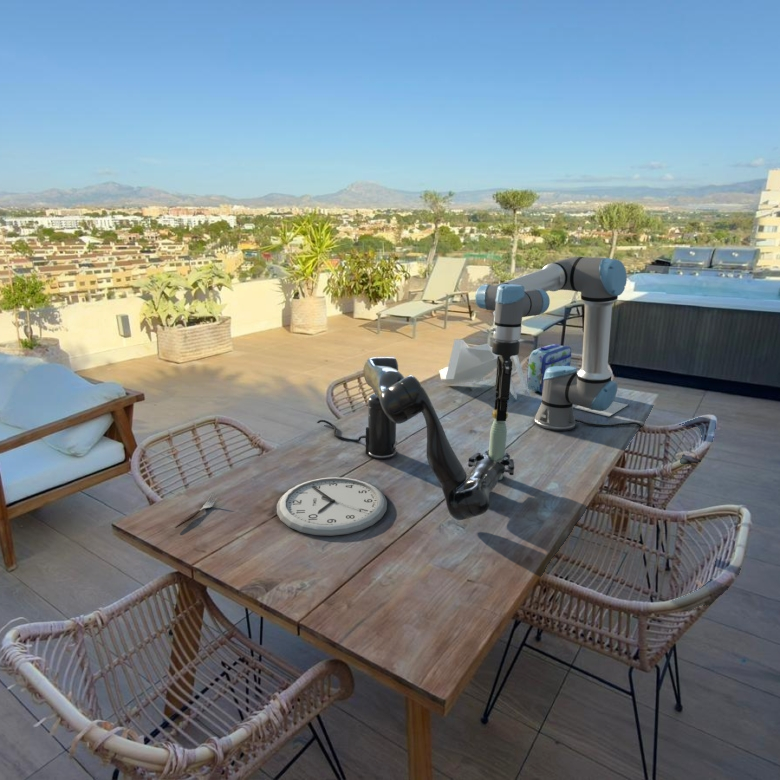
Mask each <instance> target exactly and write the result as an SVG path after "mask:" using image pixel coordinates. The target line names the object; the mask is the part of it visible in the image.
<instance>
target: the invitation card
mask: <svg viewBox="0 0 780 780" xmlns="http://www.w3.org/2000/svg"><path fill="white" fill-rule="evenodd" d="M628 406H629V404H627V403H623V402H618V401H614V400H613V402H612V404H611V405H610V406H609V407H608V408H607V409H606V410H604V411H598V410H591V409H589V408H586V407H582V406H579V405H575V406H574V407H573V409H575V410H581V411H584V412H587V413H593V414H596V415H600V416H604V417H608V418H609V417H611V416H613V415H614V414H616V413H617V412H619V411H621V410H623V409H624V408H626V407H628Z"/></svg>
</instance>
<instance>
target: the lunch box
mask: <svg viewBox="0 0 780 780" xmlns="http://www.w3.org/2000/svg"><path fill="white" fill-rule="evenodd" d="M571 361H572V348H571V347H570V346H567V345H566V346H565V345H561V344H556V343H555V344H554V343H553V344H548V345H545V346H541V347H539V348H536V349H534V350H532V351H531V353H530V355H529V357H528V363H527V375H526V384H527V387H528V390H529V391H532V392H533V391H534V392H539V393H540V394H542V391H543V381H544V380H543V378H544V374H545V371H546V369H547V368H550V367H554V366H571Z"/></svg>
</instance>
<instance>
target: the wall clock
mask: <svg viewBox="0 0 780 780" xmlns="http://www.w3.org/2000/svg"><path fill="white" fill-rule="evenodd" d="M387 509H388V500H387V498H386V496H385V494H384V493H383V492H382V491H381V490H380V489H379V488H377V487H376V486H374V485H372V484H371V483H369V482H365V481H362V480H359V479H355V478H349V477H338V476H337V477H335V476H333V477H332V476H331V477H322V478H317V479H312V480H307V481H305V482H302V483H299V484H297V485H295V486H293V487H292V488H290V489H288V490H287V491H286V492H285V493H284V494H283V495H281V496H280V498H279V499H278V502H277V503H276V515H277V517H278V518H279V520H280V521H281V522H282V523H283V524H285V525H286V526H287V527H288V528H290V529H293V530H295V531H297V532H299V533H303V534H308V535H312V536H327V537H328V536H329V537H331V536H332V537H333V536H342V535H350V534H352V533H356V532H361V531H363V530H366V529H368V528H369V527H372V526H373V525H375V524H376V523H378V522H379V521H380V520H381V519H382V518H383V517H384V516H385V514H386V512H387Z"/></svg>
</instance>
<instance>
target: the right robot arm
mask: <svg viewBox="0 0 780 780" xmlns="http://www.w3.org/2000/svg"><path fill="white" fill-rule="evenodd" d="M627 279H628V277H627V270H626V266H625V265H624V264H623V262H622V261H621V260H620V259H616V258H610V257H596V256H595V257H592V256H571V257H567V258H563V259H560V260H557V261H553V262H551V263H548V264H545V266H543V267H542V269H539V270H536V271H533V272H530V273H528V274H524V275H521V276H518V277H516V278H512V279H510V280H507V281H504V282H501V283H498V284H493V285H492V284H482V285H480V286H479V287H478V288H477V289H476V291H475V296H474V297H475V300H474V301H475V304H476V306H477V307H478V308H480V309H483V310H486V311H492V312H494V311H495V318H494V321H493V327H492V328H491V332H493V340H492V347H491V348H492V352H493V353H494V354H496V355H500V356H498V357H497V368H496V374H495V375H496V376H495V384H494V387H495V395H494V397H495V398H494V408H493V409H494V410H497V416H496V421H505V422H507V419H506V414H507V412H508V404H509V403H508V401H510V394H511V392H510V381H511V378H512V373H513V372H512V371H513V360H512V359H510V357H511V356H515V355H518V356H519V353H520V345H521V344H520V340H521V337H522V322H523V318H527V317H537V316H539V315H542V314H544V313H546V312H547V310H548V309H549V307H550V304H551V302H550V301H551V300H550V296H549V294H548V293H547V292H557V291H572V292H578V293H580V301H582V302H583V303H584V317H583V337H582V338H583V339H582V355H581V368H580V369H578V368H577V367H576V366H571V365H570V366H554V367H550V368H547V369H546V371H545V374H544V378H543V380H544V381H543V391H542V393H541V402H540V405H539V407H538V410H537V411H536V413H535V416H534V424H535V425H536V426H537V427H539V428H542V429H544V430H549V431H556V432H567V431H572V430H574V429H575V428H576V423H580V424H583V425H585V426H592V427H603V428H605V427H607V428H610V427H611V428H613V427H619V426H631V425H633V426H634V425H635V426H638V427H639V428H644V426H643V424H641V423H639V422H635V421H634V422H633V421H632V422H619V423H613V424H610V423H609V424H603V423H601V424H600V423H592V422H587V421H583V420H580V419H576V418H575V417H576V416H575V413H574V407H573V405H575V406H578V405H579V406H582V407H586V408H589V409H591V410H598V411H604V410H606V409H607V408H608V407H609V406H610V405H611V404H612V402H613V401H614V400H615V398H616V396H617V394H618V393H617V392H618V383H617V382H616V381H615V380H612V372H611V371H610V370H609V369H608V366H609V354H610V353H609V352H610V339H611V327H612V315H613V304H614V303H615V302H616V301H617V300H618V299H619V296H620V295H622V294H623V293H624V291H625V289H626V288H625V287H626V286H627V281H628V280H627Z"/></svg>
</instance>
